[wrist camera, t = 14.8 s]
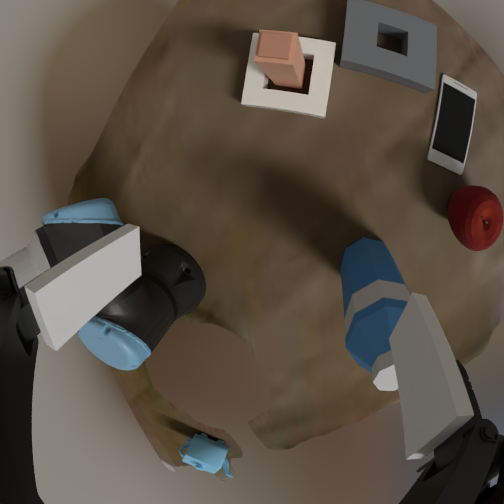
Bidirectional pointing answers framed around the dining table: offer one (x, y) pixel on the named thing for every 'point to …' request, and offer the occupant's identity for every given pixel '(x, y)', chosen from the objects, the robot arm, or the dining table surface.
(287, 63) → the plug
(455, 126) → the smartphone
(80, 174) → the dining table surface
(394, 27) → the grey flat block
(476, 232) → the apple
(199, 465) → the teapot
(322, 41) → the white square frame
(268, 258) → the dining table surface
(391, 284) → the water bottle
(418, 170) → the dining table surface
